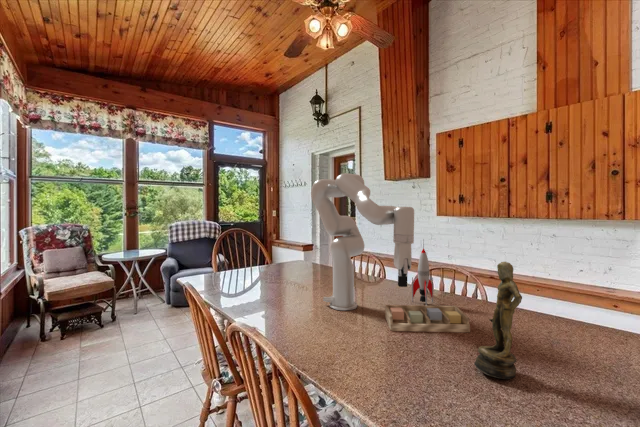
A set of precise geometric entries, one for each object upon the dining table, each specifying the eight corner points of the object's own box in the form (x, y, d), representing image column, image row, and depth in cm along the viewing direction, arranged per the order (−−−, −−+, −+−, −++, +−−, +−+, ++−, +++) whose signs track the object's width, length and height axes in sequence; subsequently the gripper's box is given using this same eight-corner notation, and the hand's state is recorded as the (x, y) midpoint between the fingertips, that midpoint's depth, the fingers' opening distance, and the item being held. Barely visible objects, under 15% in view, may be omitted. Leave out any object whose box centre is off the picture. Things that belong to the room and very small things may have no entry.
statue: (466, 365, 87) (466, 260, 87) (503, 363, 88) (504, 259, 88) (491, 387, 77) (491, 267, 76) (533, 385, 78) (533, 266, 77)
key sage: (410, 322, 116) (410, 314, 116) (408, 318, 121) (408, 310, 121) (422, 322, 116) (422, 314, 116) (419, 318, 120) (419, 310, 120)
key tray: (390, 330, 112) (390, 317, 112) (385, 317, 126) (385, 304, 126) (470, 332, 110) (470, 318, 110) (455, 318, 124) (455, 305, 124)
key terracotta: (392, 319, 117) (392, 311, 117) (390, 315, 121) (390, 307, 121) (403, 319, 116) (403, 311, 116) (401, 315, 121) (401, 307, 121)
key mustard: (449, 323, 115) (449, 315, 115) (445, 318, 120) (445, 311, 120) (461, 323, 115) (461, 315, 115) (456, 319, 119) (456, 311, 119)
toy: (432, 302, 145) (432, 238, 145) (437, 308, 137) (437, 240, 136) (411, 301, 146) (411, 238, 146) (415, 307, 138) (415, 240, 137)
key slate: (429, 319, 116) (429, 311, 116) (426, 315, 120) (426, 308, 120) (441, 320, 115) (441, 312, 115) (438, 315, 120) (438, 308, 120)
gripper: (390, 236, 126) (389, 281, 126) (397, 241, 111) (396, 291, 111) (408, 236, 125) (407, 281, 126) (418, 241, 110) (417, 292, 111)
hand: (402, 286), depth 119 cm, fingers closed
